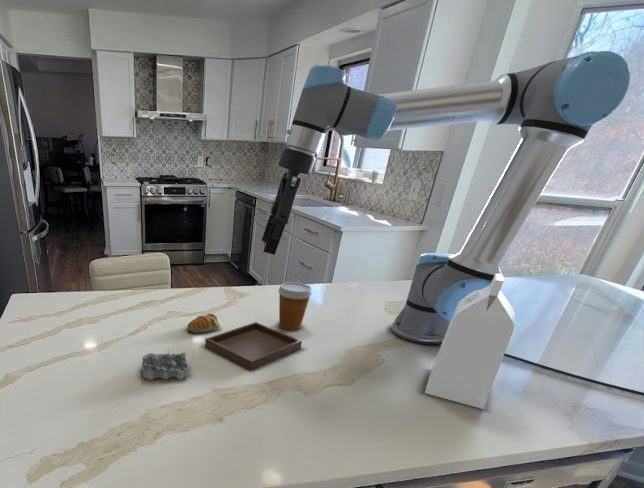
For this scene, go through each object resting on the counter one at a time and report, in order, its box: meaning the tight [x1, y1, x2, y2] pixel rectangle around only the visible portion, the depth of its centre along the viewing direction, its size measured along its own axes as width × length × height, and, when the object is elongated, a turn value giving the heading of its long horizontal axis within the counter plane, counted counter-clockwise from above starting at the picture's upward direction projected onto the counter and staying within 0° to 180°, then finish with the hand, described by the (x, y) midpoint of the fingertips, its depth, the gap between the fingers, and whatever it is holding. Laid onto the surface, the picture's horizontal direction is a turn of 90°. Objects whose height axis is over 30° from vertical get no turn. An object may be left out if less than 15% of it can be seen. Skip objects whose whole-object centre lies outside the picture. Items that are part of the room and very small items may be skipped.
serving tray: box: [204, 321, 303, 371], centre depth 114 cm, size 17×20×2 cm
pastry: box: [186, 313, 221, 334], centre depth 124 cm, size 9×7×4 cm
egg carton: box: [141, 352, 189, 381], centre depth 100 cm, size 11×8×4 cm
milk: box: [424, 273, 516, 410], centre depth 92 cm, size 12×12×26 cm
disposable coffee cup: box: [277, 281, 313, 331], centre depth 125 cm, size 10×10×12 cm
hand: (267, 247), depth 104 cm, fingers open, 13 cm apart
